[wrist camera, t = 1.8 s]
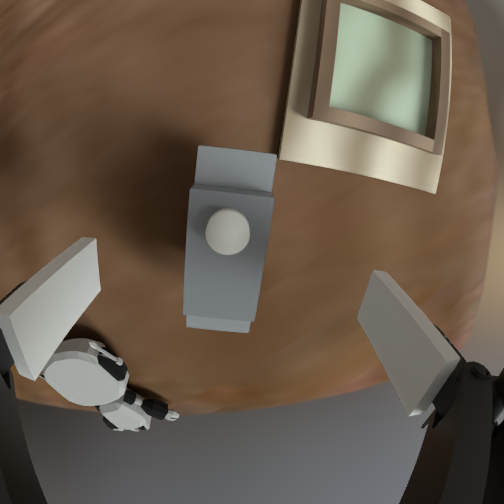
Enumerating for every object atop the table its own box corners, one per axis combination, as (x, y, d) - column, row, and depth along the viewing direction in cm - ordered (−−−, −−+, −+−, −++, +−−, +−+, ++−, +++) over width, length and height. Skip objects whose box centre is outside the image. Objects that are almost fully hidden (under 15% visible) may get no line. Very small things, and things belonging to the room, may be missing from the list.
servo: (197, 279, 24) (180, 352, 16) (210, 143, 20) (190, 147, 12) (245, 284, 24) (250, 359, 16) (265, 149, 20) (284, 158, 12)
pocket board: (278, 158, 20) (282, 161, 18) (305, -37, 14) (311, -51, 12) (430, 192, 22) (446, 198, 20) (445, 19, 15) (460, 13, 13)
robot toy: (188, 398, 31) (99, 311, 25) (185, 429, 27) (83, 343, 21) (119, 415, 33) (39, 345, 26) (113, 441, 29) (24, 371, 22)
